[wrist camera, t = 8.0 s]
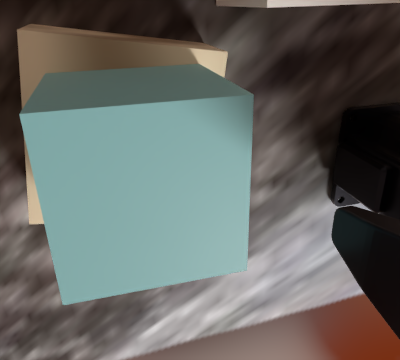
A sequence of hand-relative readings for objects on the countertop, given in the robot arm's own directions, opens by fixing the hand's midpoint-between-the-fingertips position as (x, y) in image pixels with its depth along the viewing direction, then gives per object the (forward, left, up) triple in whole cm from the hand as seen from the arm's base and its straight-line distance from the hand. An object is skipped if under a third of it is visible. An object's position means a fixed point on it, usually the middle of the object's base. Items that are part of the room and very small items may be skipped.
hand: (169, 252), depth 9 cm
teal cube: (0, 0, -8) cm, 8 cm away
